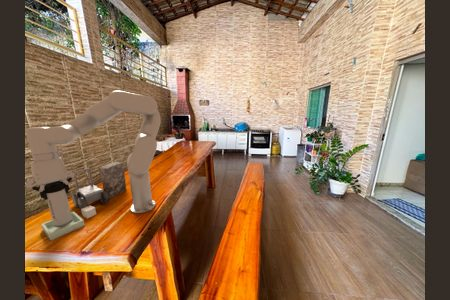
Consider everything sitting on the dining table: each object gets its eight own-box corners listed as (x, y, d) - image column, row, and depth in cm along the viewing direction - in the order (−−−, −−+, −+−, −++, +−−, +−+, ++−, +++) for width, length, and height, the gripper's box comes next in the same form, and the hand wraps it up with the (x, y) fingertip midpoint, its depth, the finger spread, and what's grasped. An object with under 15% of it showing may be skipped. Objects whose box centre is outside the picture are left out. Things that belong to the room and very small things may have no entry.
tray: (84, 225, 80) (83, 219, 79) (50, 241, 70) (48, 234, 70) (75, 216, 87) (73, 211, 86) (42, 229, 77) (41, 224, 76)
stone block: (113, 198, 105) (107, 167, 100) (103, 197, 106) (97, 167, 101) (128, 189, 117) (124, 161, 113) (119, 188, 118) (114, 161, 114)
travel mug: (71, 217, 82) (61, 178, 78) (74, 222, 78) (64, 182, 74) (53, 223, 78) (42, 183, 73) (55, 229, 74) (43, 187, 69)
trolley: (110, 203, 98) (104, 171, 94) (85, 214, 89) (77, 178, 84) (97, 196, 107) (91, 166, 103) (73, 204, 98) (66, 172, 93)
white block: (96, 214, 89) (95, 207, 88) (87, 218, 85) (85, 211, 84) (91, 211, 91) (90, 205, 90) (82, 215, 87) (81, 209, 87)
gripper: (69, 151, 80) (77, 186, 84) (12, 160, 66) (25, 202, 70) (75, 153, 76) (83, 190, 80) (15, 163, 62) (29, 207, 66)
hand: (56, 195), depth 75 cm, fingers closed on travel mug, 6 cm apart
